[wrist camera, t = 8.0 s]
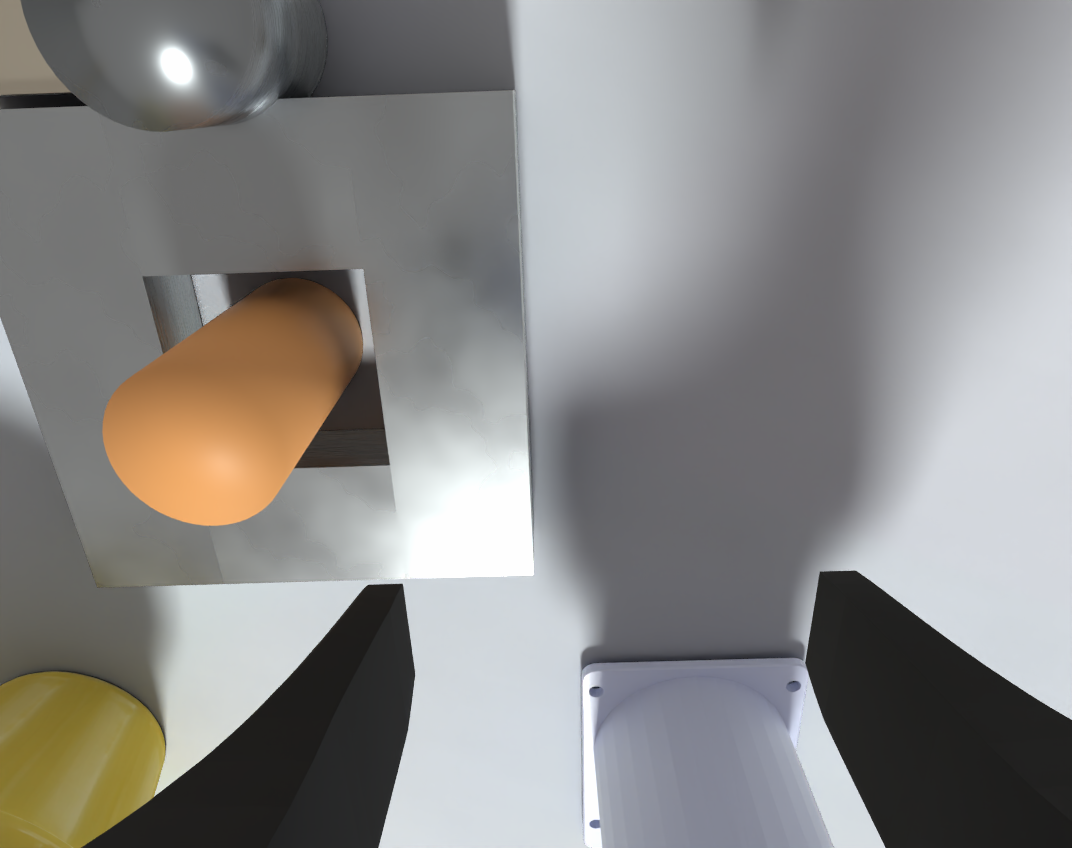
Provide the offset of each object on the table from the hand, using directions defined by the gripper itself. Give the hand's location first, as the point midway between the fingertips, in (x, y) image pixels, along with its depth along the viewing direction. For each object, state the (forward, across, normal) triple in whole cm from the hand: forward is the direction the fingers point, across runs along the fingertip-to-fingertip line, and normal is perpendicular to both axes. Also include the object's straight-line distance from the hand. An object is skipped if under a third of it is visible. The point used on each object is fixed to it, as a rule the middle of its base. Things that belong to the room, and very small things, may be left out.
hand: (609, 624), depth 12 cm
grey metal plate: (+10, +12, -4) cm, 16 cm away
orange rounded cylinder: (+10, +8, -2) cm, 13 cm away
